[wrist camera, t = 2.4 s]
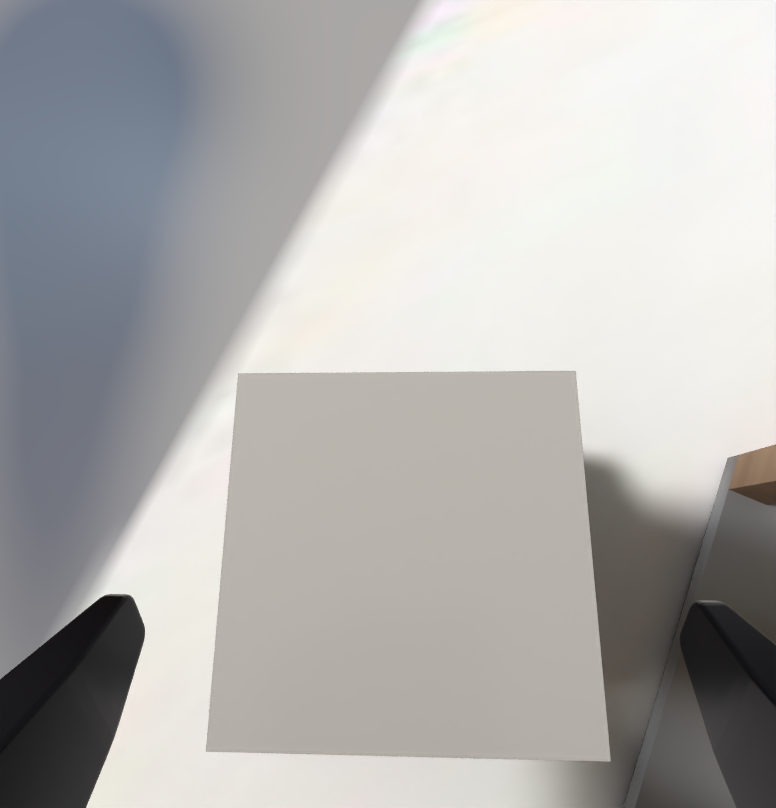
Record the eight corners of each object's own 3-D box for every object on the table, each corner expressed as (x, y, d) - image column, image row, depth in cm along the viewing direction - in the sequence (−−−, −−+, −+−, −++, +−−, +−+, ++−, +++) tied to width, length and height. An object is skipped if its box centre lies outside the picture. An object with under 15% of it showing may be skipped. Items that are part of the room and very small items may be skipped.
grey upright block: (509, 651, 13) (611, 761, 6) (309, 648, 13) (205, 751, 7) (499, 453, 14) (575, 371, 8) (318, 453, 15) (237, 373, 8)
